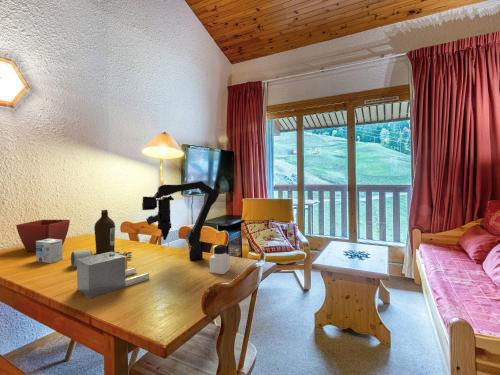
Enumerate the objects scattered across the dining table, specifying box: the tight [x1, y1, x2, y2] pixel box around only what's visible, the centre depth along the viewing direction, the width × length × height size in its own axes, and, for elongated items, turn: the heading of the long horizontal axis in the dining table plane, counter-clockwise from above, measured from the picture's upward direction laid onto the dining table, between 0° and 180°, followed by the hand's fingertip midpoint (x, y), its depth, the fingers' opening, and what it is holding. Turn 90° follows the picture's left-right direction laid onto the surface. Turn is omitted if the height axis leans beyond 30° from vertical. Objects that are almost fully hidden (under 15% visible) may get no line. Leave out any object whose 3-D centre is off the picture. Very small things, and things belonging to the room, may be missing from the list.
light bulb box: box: [35, 239, 64, 264], centre depth 136 cm, size 11×7×11 cm, turn 73°
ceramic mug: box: [70, 249, 94, 268], centre depth 129 cm, size 11×8×8 cm
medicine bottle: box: [209, 243, 231, 275], centre depth 119 cm, size 7×7×12 cm
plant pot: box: [15, 219, 71, 253], centre depth 158 cm, size 19×19×17 cm
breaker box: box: [76, 251, 150, 299], centre depth 104 cm, size 23×12×13 cm, turn 141°
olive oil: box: [93, 209, 116, 255], centre depth 150 cm, size 11×11×25 cm
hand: (164, 239), depth 130 cm, fingers closed
